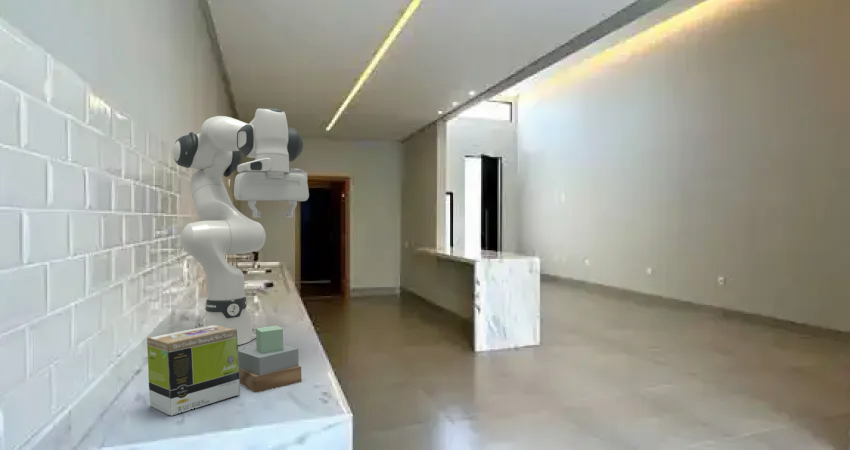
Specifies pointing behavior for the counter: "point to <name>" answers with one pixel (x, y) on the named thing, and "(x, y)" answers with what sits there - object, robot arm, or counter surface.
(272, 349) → the sage cube
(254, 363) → the slate slab
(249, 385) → the walnut slab
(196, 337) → the tea box
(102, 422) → the counter surface
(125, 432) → the counter surface
